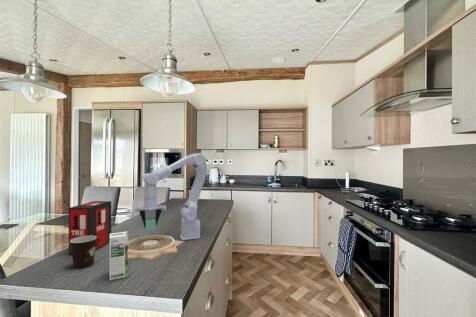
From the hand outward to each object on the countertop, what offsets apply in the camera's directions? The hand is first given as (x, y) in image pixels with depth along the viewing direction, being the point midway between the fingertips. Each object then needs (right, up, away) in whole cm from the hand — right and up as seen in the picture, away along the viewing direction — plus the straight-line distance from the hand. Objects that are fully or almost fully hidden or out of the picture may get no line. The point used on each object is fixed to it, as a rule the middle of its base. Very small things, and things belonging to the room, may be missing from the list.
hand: (150, 225), depth 115 cm
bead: (0, -2, 0) cm, 2 cm away
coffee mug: (-16, -9, -23) cm, 29 cm away
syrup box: (+1, -8, -32) cm, 33 cm away
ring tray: (+2, -8, -6) cm, 10 cm away
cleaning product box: (-25, -9, -6) cm, 27 cm away
